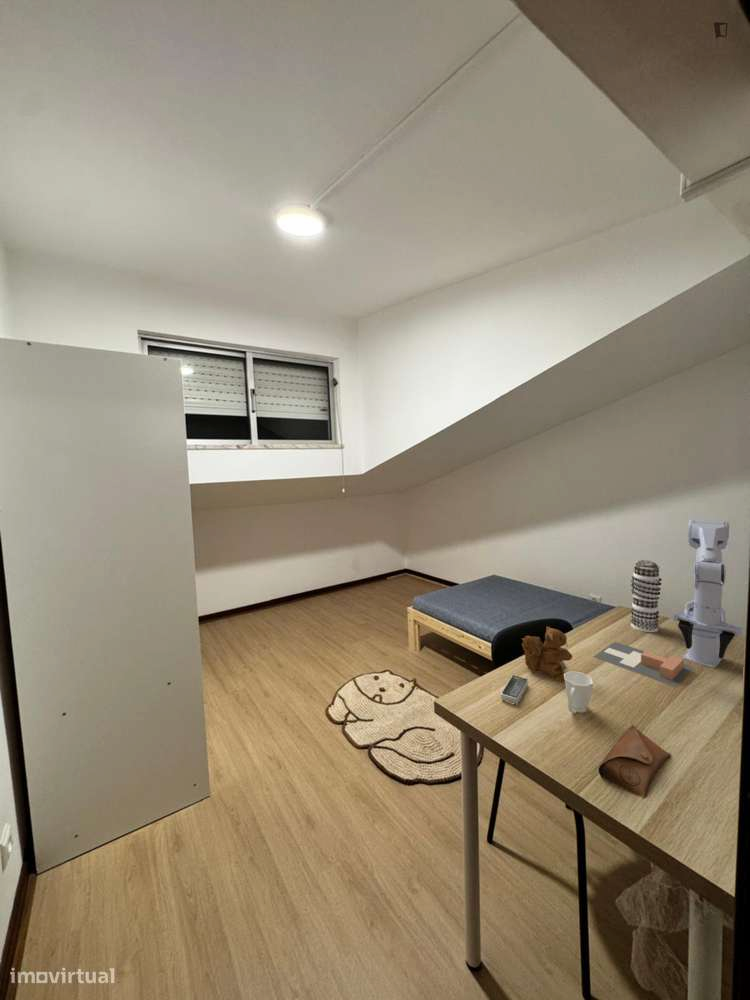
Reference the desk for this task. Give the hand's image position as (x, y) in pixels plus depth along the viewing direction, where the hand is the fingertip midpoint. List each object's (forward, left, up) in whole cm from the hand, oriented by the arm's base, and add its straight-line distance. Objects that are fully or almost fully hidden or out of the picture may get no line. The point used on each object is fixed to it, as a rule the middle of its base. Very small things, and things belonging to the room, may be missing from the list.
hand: (704, 652), depth 109 cm
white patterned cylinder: (-29, -24, -10) cm, 39 cm away
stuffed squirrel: (+26, -32, -10) cm, 42 cm away
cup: (+38, -17, -10) cm, 43 cm away
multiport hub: (+43, -31, -10) cm, 54 cm away
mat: (0, -15, -9) cm, 18 cm away
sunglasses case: (+46, 0, -10) cm, 47 cm away
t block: (0, -10, -9) cm, 14 cm away
